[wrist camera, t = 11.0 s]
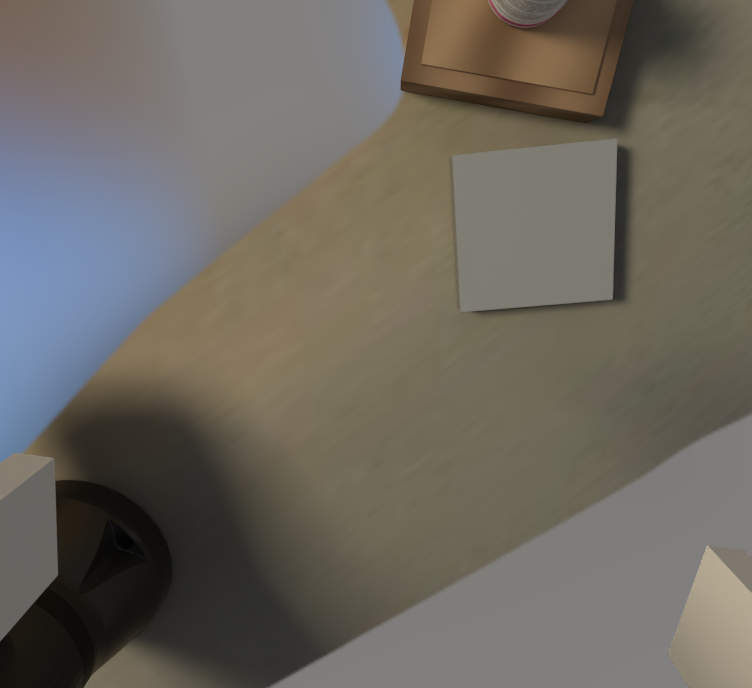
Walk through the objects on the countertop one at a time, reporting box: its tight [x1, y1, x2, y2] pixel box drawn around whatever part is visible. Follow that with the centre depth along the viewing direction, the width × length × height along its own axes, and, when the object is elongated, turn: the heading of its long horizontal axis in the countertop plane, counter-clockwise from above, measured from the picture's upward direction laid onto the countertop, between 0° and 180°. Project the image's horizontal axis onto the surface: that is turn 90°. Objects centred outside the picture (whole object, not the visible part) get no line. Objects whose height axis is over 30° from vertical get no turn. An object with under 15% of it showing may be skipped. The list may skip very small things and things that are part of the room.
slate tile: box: [449, 138, 617, 312], centre depth 34 cm, size 10×10×2 cm
